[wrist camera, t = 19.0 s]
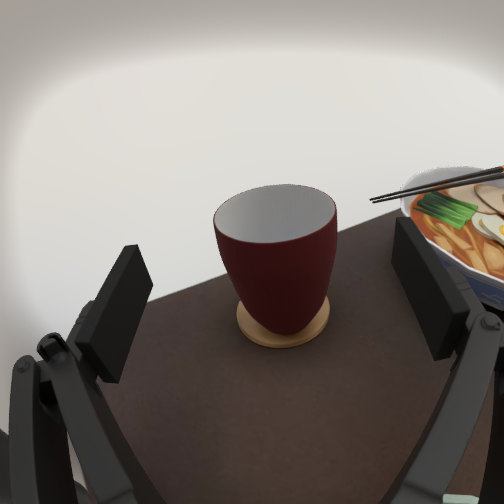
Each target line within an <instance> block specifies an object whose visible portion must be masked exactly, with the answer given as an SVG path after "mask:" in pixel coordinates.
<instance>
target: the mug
mask: <svg viewBox="0 0 504 504" xmlns="http://www.w3.org/2000/svg"><path fill="white" fill-rule="evenodd" d="M213 223H214V229H215V234H216V239H217V244H218V248H219V252H220V255H221V258H222V261H223V263H224V266H225V268H226V270H227V272H228V275H229V277H230V279H231V281H232V283H233V285H234V287H235V289H236V291H237V293H238V296H239V298H240V300H241V302H242V304H243V306H244V307H245V309H246V310H247V312H248V313H249V314H250V315H251V317H252V318H253V319H255V320H256V321H257V322H258V323H259V324H261V325H262V326H263V327H264V328H266V329H267V330H268V331H270V332H272V333H275V334H278V335H291V334H295V333H297V332H299V331H301V330H303V329H304V328H305V327H306V326H307V325H308V324H309V323H310V322H311V321H312V319H313V318H314V317H315V316H316V314H317V313H318V311H319V310H320V308H321V307H322V305H323V303H324V300H325V297H326V294H327V290H328V285H329V281H330V277H331V272H332V268H333V263H334V259H335V254H336V248H337V209H336V205H335V202H334V201H333V199H332V198H331V197H330V196H328V195H327V194H326V193H324V192H322V191H319V190H317V189H315V188H311V187H307V186H301V185H289V184H288V185H287V184H285V185H284V184H283V185H270V186H264V187H259V188H255V189H251V190H248V191H245V192H242V193H240V194H238V195H235V196H233V197H232V198H230V199H228V200H227V201H225V202H224V203H223V204H222V205H221V206H220V207H219V208H218V209H217V211H216V212H215V214H214V218H213Z"/></svg>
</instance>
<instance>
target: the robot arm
mask: <svg viewBox="0 0 504 504" xmlns="http://www.w3.org/2000/svg"><path fill="white" fill-rule="evenodd" d="M391 263H392V265H393V267H394V269H395V271H396V273H397V275H398V278H399V280H400V282H401V284H402V286H403V288H404V290H405V293H406V295H407V297H408V299H409V301H410V304H411V306H412V308H413V310H414V313H415V315H416V317H417V320H418V322H419V324H420V327H421V329H422V331H423V334H424V336H425V339H426V341H427V344H428V346H429V349H430V351H431V354H432V356H433V359H434V361H437V360H441V359H446V358H450V356H451V354H452V352H453V350H454V348H455V351H456V353H457V355H458V356H457V358H456V360H455V362H454V364H453V366H452V368H451V370H450V371H451V373H450V375H449V377H448V380H447V382H446V385H445V387H444V389H443V391H442V394H441V396H440V398H439V400H438V402H437V405H436V407H435V409H434V411H433V413H432V415H431V417H430V419H429V421H428V423H427V425H426V427H425V429H424V431H423V433H422V435H421V436H420V438H419V440H418V442H417V444H416V446H415V447H414V449H413V451H412V453H411V454H410V456H409V458H408V459H407V461H406V463H405V464H404V466H403V468H402V469H401V471H400V473H399V474H398V476H397V477H396V479H395V480H394V482H393V484H392V485H391V487H390V488H389V490H388V491H387V493H386V494H385V495H384V497H383V498H382V500H381V501H380V502H379V503H378V504H443V496H444V493H445V491H446V489H447V487H448V486H449V484H450V482H451V480H452V478H453V476H454V474H455V472H456V470H457V467H458V465H459V463H460V461H461V459H462V457H463V454H464V452H465V450H466V448H467V445H468V443H469V440H470V438H471V436H472V433H473V431H474V428H475V425H476V423H477V420H478V417H479V415H480V412H481V409H482V406H483V403H484V400H485V397H486V394H487V391H488V387H489V384H490V381H491V377H492V374H493V371H495V384H494V403H493V416H492V426H491V435H490V443H489V450H488V456H487V462H486V468H485V473H484V478H483V483H482V488H481V492H480V497H479V501H478V504H504V323H503V322H502V321H501V319H500V318H499V317H498V316H497V315H495V314H493V313H491V312H487V311H486V310H485V309H484V307H483V305H482V304H481V302H480V300H479V299H478V297H477V295H476V294H475V292H474V291H473V289H472V287H471V286H470V284H469V283H468V282H467V280H466V278H465V277H464V275H463V274H462V273H461V272H460V271H459V270H458V269H456V268H455V267H447V268H445V266H444V265H443V263H442V262H441V260H440V259H439V257H438V256H437V254H436V253H435V251H434V250H433V248H432V247H431V245H430V244H429V242H428V241H427V240H426V238H425V237H424V235H423V234H422V232H421V231H420V230H419V228H418V227H417V225H416V224H415V223H414V221H413V220H412V219H411V217H397V218H396V226H395V236H394V244H393V252H392V260H391ZM152 287H153V283H152V280H151V278H150V275H149V273H148V270H147V268H146V265H145V263H144V260H143V257H142V255H141V252H140V250H139V247H138V245H137V244H136V245H128V246H125V247H124V248H123V250H122V252H121V253H120V255H119V257H118V259H117V260H116V262H115V264H114V266H113V267H112V269H111V271H110V273H109V274H108V276H107V278H106V280H105V282H104V284H103V285H102V287H101V289H100V291H99V293H98V295H97V297H96V298H95V300H94V301H89V302H88V303H87V304H86V305H85V306H84V307H83V309H82V311H81V313H80V314H79V318H77V320H76V322H75V325H74V326H73V328H72V330H71V332H70V334H69V336H68V338H67V340H66V342H65V341H64V340H63V338H62V337H61V335H60V334H59V333H56V332H55V333H50V334H47V335H46V336H45V337H43V338H42V339H41V341H40V342H39V343H38V346H37V352H38V353H39V355H40V356H41V357H42V358H43V360H42V361H38V362H36V361H35V360H34V358H33V357H32V356H30V355H26V356H23V357H21V358H20V359H19V360H17V362H16V363H15V365H14V367H13V373H12V383H11V394H10V410H9V474H10V488H11V499H12V504H78V500H77V495H76V490H75V485H74V479H73V474H72V467H71V461H70V454H69V446H68V438H67V431H68V434H69V437H70V440H71V442H72V445H73V447H74V450H75V452H76V455H77V457H78V460H79V462H80V464H81V467H82V469H83V471H84V474H85V476H86V478H87V480H88V482H89V485H90V487H91V489H92V491H93V493H94V495H95V497H96V499H97V501H98V504H166V503H165V502H164V501H163V499H162V498H161V496H160V495H159V493H158V492H157V490H156V489H155V487H154V486H153V484H152V483H151V481H150V479H149V478H148V476H147V475H146V473H145V471H144V470H143V468H142V467H141V465H140V463H139V462H138V460H137V458H136V457H135V455H134V453H133V451H132V450H131V448H130V446H129V444H128V443H127V441H126V439H125V437H124V435H123V433H122V432H121V430H120V428H119V426H118V424H117V422H116V420H115V418H114V416H113V414H112V412H111V410H110V408H109V406H108V404H107V402H106V400H105V398H104V396H103V394H102V391H101V389H100V387H99V385H98V384H97V383H96V379H97V376H98V375H99V377H100V378H101V379H102V380H103V382H105V383H117V384H118V383H119V380H120V377H121V374H122V371H123V368H124V365H125V362H126V359H127V356H128V353H129V350H130V347H131V344H132V341H133V339H134V336H135V333H136V330H137V327H138V325H139V322H140V319H141V316H142V314H143V311H144V308H145V306H146V303H147V300H148V297H149V295H150V293H151V290H152Z"/></svg>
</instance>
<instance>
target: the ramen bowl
mask: <svg viewBox="0 0 504 504" xmlns="http://www.w3.org/2000/svg"><path fill="white" fill-rule="evenodd" d="M502 172H504V166H500V167H495V168H491V169H481V168H474V167H466V166H465V167H437V168H434V169H431V170H427V171H424V172H421V173H418V174H415V175H413V176H412V177H411V178H410V179H409V181H407V182H406V183H405V184H404V185H403V186H402V187H401V188H400V191H398V192H394V193H390V194H386V195H383V196H379V197H375V198H371V199H370V201H371V200H376V199H380V198H384V197H389V196H393V195H397V194H400V195H399V196H394V197H390V198H386V199H381V200H377V201H373V203H378V202H382V201H387V200H393V199H398V198H401V211H402V213H403V216H404V217H411V219H412V220H413V221H414V223H415V224H416V225H417V227H418V228H419V230H420V231H421V232H422V234H423V235H424V237H425V238H426V240H427V241H428V242H429V244H430V245H431V247H432V248H433V250H434V251H435V253H436V254H437V256H438V257H439V259H440V260H441V262H442V263H443V265H444V266H445V268H447V267H455V268H456V269H458V270H459V271H460V272H461V273H462V274H463V275H464V277H465V278H466V280H467V282H468V283H469V284H470V286H471V287H472V289H473V291H474V292H475V294H476V295H477V297H478V299H479V300H480V302H482V303H485V304H487V305H490V306H492V307H494V308H496V309H499V310H501V311H504V173H502Z"/></svg>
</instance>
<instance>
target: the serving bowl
mask: <svg viewBox="0 0 504 504" xmlns="http://www.w3.org/2000/svg"><path fill="white" fill-rule="evenodd" d="M478 501H479V498H477V497H474V496H471V495H452V494H444V496H443V504H478Z"/></svg>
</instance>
